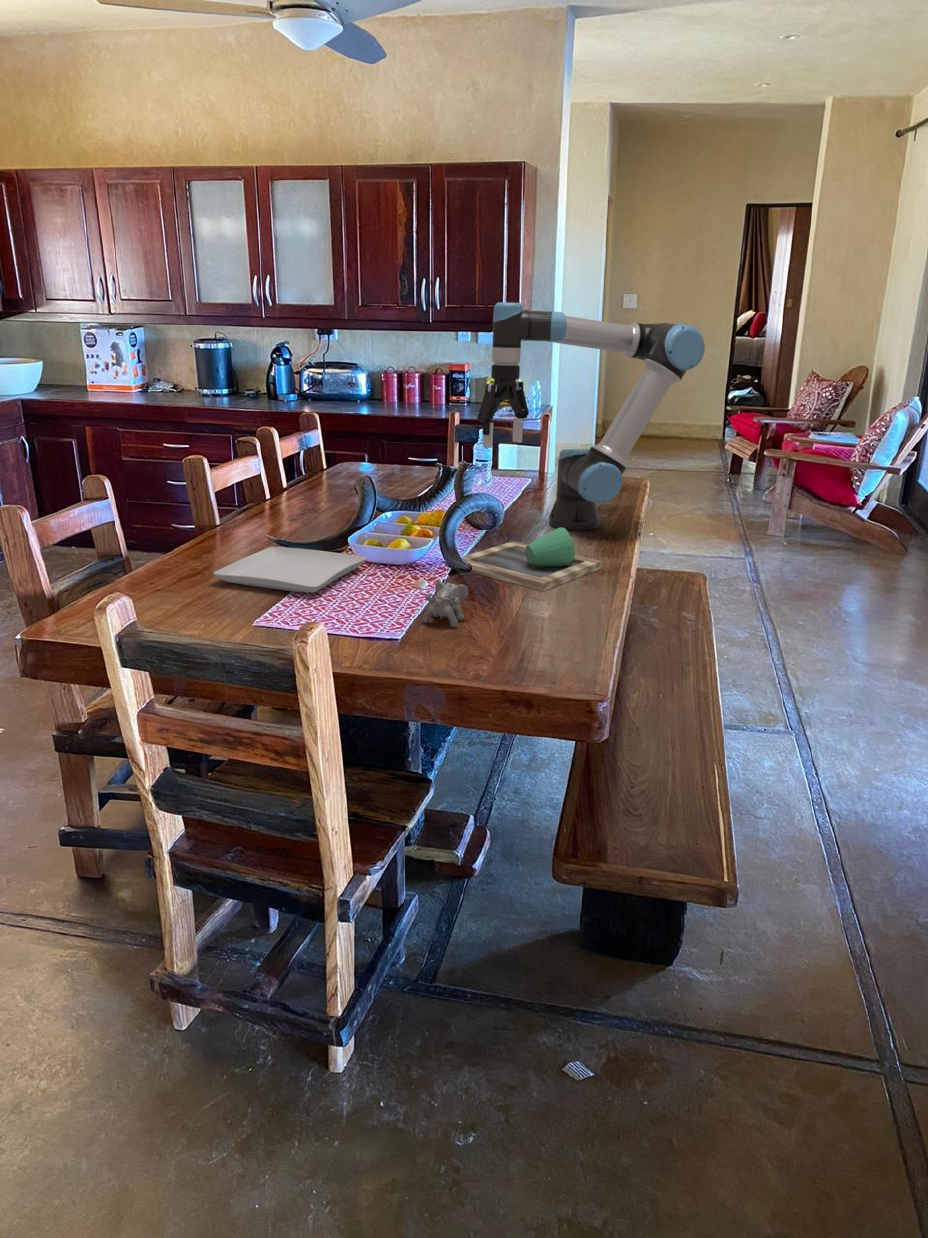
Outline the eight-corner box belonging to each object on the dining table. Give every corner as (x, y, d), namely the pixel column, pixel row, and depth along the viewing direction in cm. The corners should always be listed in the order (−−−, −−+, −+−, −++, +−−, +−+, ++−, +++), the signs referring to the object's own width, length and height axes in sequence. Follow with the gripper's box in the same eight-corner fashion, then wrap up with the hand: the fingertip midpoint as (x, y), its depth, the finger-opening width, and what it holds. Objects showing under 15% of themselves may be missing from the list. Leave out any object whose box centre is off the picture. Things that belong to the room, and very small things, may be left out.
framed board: (513, 548, 245) (513, 541, 244) (601, 568, 228) (602, 561, 227) (451, 567, 226) (452, 559, 225) (543, 591, 209) (543, 583, 208)
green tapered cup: (541, 573, 218) (578, 564, 220) (532, 534, 217) (569, 525, 220) (520, 576, 232) (555, 567, 235) (511, 539, 231) (546, 531, 234)
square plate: (368, 570, 223) (368, 555, 221) (316, 602, 198) (316, 585, 197) (272, 557, 231) (272, 543, 229) (211, 587, 206) (210, 570, 205)
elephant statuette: (421, 628, 184) (422, 594, 181) (425, 606, 195) (426, 573, 192) (466, 631, 184) (468, 596, 181) (467, 608, 195) (469, 575, 192)
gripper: (521, 361, 249) (518, 438, 256) (465, 364, 230) (463, 447, 237) (544, 363, 244) (539, 441, 251) (488, 366, 226) (485, 451, 233)
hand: (502, 444), depth 244 cm, fingers open, 13 cm apart
